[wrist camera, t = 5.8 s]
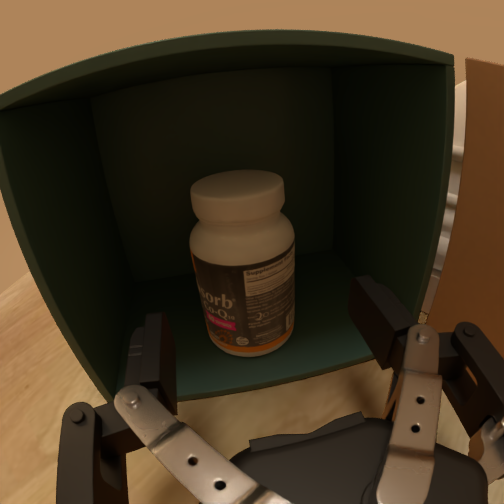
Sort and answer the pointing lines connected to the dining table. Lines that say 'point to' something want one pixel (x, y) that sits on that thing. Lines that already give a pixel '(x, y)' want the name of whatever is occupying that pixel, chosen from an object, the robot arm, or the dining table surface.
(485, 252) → the cupboard door
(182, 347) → the cupboard
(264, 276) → the pill bottle
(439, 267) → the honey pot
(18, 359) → the dining table surface
